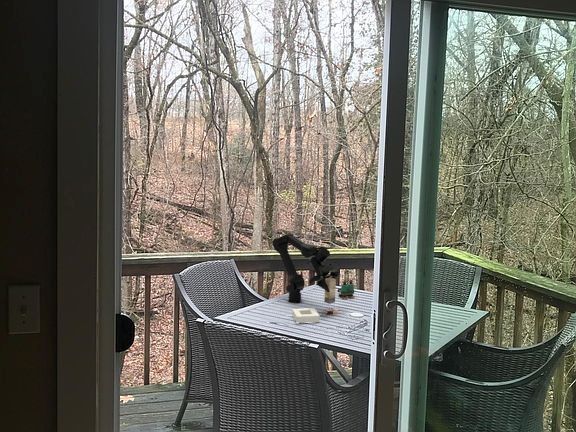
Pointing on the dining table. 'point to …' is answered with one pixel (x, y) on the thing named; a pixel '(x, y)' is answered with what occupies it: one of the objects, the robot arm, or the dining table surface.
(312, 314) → the square ring frame
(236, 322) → the dining table surface
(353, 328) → the dining table surface
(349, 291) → the green boxy toy
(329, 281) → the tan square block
